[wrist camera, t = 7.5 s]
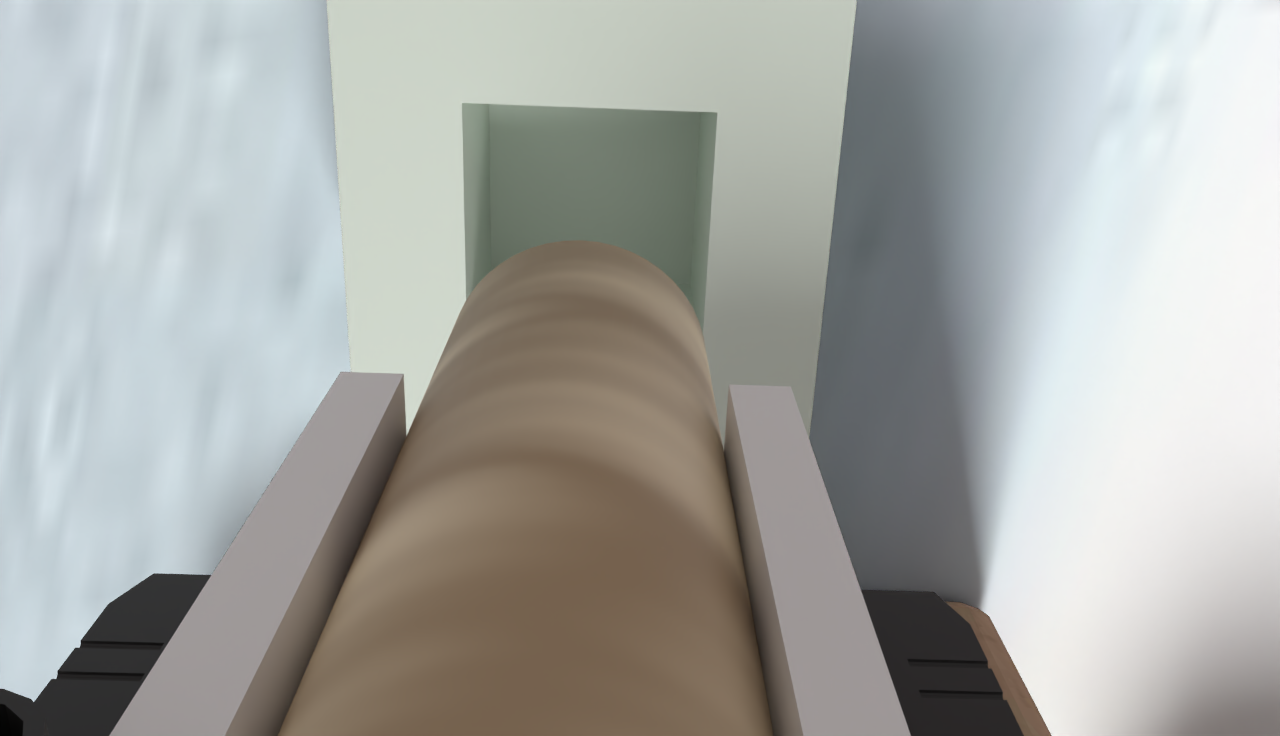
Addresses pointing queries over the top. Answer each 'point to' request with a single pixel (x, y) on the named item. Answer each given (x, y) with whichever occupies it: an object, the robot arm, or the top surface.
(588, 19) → the socket block
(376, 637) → the birch peg
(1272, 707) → the top surface
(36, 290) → the top surface
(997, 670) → the wooden block
